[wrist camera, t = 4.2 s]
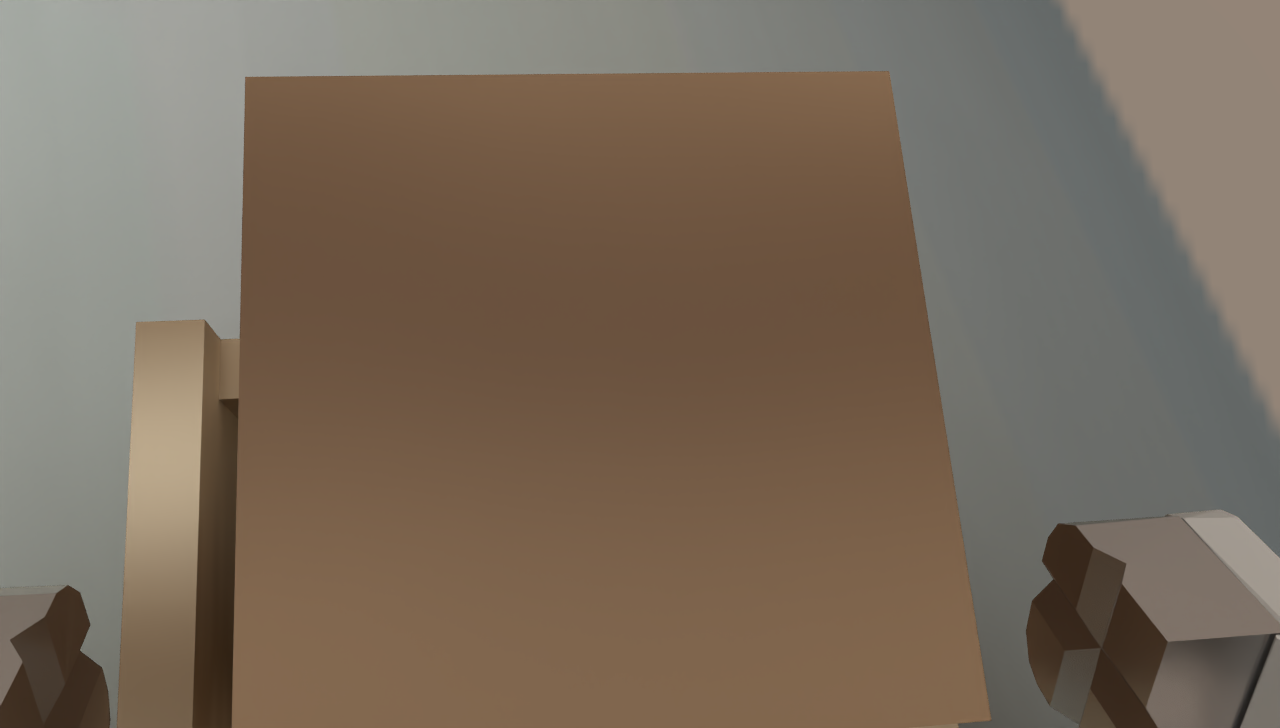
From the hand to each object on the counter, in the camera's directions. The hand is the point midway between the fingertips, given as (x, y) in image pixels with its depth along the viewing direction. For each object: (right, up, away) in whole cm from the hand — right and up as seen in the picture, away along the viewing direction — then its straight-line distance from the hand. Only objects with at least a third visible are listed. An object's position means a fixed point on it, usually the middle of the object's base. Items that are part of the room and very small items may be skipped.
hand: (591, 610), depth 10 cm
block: (-1, -1, +6) cm, 6 cm away
